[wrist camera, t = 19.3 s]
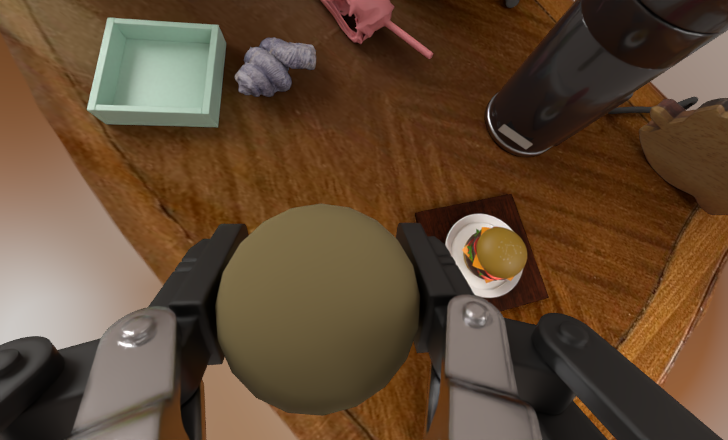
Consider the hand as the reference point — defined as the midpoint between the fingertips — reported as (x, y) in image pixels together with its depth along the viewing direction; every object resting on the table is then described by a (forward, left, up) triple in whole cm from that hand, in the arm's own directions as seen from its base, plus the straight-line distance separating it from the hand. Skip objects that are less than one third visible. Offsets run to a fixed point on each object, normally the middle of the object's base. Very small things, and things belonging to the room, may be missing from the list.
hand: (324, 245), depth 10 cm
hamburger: (-16, -2, -19) cm, 26 cm away
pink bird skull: (-2, -32, -20) cm, 38 cm away
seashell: (+6, -23, -20) cm, 31 cm away
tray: (+18, -22, -19) cm, 35 cm away
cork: (0, +2, -7) cm, 8 cm away
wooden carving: (-43, -12, -20) cm, 49 cm away
